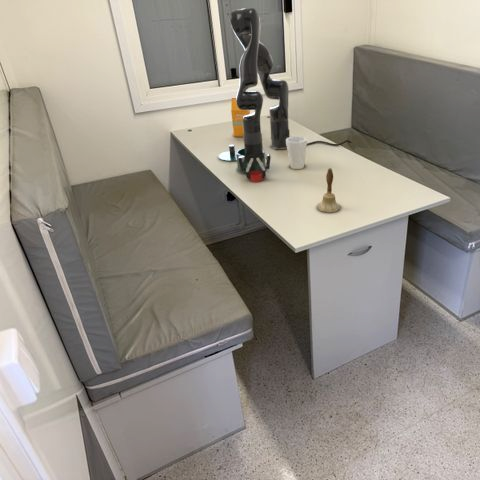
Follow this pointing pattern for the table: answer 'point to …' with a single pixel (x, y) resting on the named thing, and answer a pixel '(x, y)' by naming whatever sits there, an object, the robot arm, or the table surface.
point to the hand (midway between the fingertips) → (256, 178)
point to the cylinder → (256, 176)
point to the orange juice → (238, 118)
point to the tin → (253, 167)
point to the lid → (229, 155)
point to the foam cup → (296, 151)
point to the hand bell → (329, 196)
